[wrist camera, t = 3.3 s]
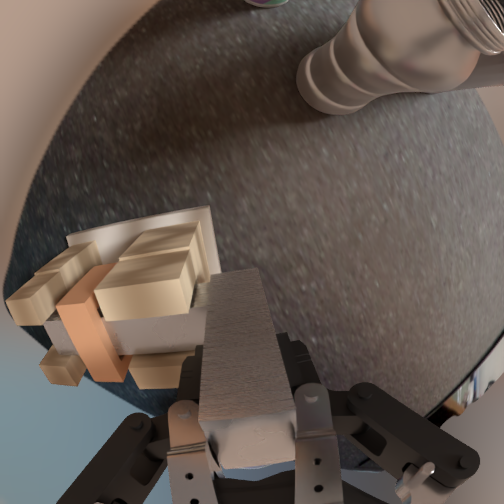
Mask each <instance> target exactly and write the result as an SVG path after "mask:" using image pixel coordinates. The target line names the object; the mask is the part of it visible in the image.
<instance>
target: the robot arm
mask: <svg viewBox="0 0 504 504" xmlns="http://www.w3.org/2000/svg"><path fill="white" fill-rule="evenodd" d="M491 86H504V51H502V52H501V53H500V54H496V55H485V54H483V53H480V56H479V59H478V61H477V64H476V66H475V68H474V69H473V71H472V73H471V74H470V76H469V77H468V78H467V79H466V80H465V81H464V82H463V83H461V84H460V85H458V86H457V87H455V88H453V89H451V90H448V91H455V90H463V89H471V88H479V87H491ZM448 91H437V92H425V93H430V94H434V93H441V92H448ZM276 337H277V341H278V345H279V348H280V352H281V356H282V359H283V363H284V367H285V370H286V374H287V378H288V381H289V385H290V389H291V392H292V396H293V400H294V403H295V407H296V422H295V470H290V471H284V472H281V473H278V474H276V475H273V476H270V477H268V478H265V479H262V480H259V481H247V480H238V479H231V478H225V476H224V474H223V471H222V468H221V464H220V461H219V459H218V457H217V455H216V454H215V452H214V450H213V448H212V446H211V445H210V443H209V441H208V439H207V437H206V435H205V434H204V432H203V430H202V428H201V426H200V424H199V422H198V416H199V399H200V384H201V371H202V358H203V346H204V344H203V345H196V348H195V356H187V357H186V359H185V360H184V362H183V363H182V367H181V373H180V380H179V386H178V393H177V400H176V403H174V404H173V405H172V406H171V407H170V408H169V410H168V413H166V414H164V415H161V416H157V417H153V418H149V417H148V415H146V414H144V413H133V414H130V415H129V416H127V417H126V418H125V419H124V421H123V422H122V423H121V424H120V426H119V427H118V428H117V429H116V430H115V432H114V433H113V434H112V435H111V437H110V438H109V439H108V440H107V442H106V443H105V444H104V445H103V446H102V448H101V449H100V450H99V451H98V453H97V454H96V455H95V456H94V457H93V459H92V460H91V461H90V462H89V464H88V465H87V466H86V467H85V469H84V470H83V471H82V472H81V473H80V475H79V476H78V477H77V478H76V479H75V481H74V482H73V483H72V485H71V486H70V487H69V488H68V489H67V491H66V492H65V493H64V494H63V495H62V497H61V498H60V499H59V500H58V502H57V503H56V504H143V502H144V500H145V499H146V498H147V496H148V495H149V493H150V492H151V490H152V489H153V487H154V486H155V484H156V483H157V481H158V480H159V478H160V476H161V475H162V473H163V472H164V470H165V469H166V467H167V466H168V472H169V480H170V487H171V494H172V501H173V504H388V503H386V502H384V501H382V500H380V499H377V498H375V497H373V496H371V495H369V494H367V493H365V492H363V491H362V490H360V489H358V488H356V487H354V486H352V485H350V484H348V483H347V482H345V481H343V480H341V470H340V460H339V451H338V443H337V436H336V435H344V436H345V437H346V438H347V439H348V440H349V441H351V442H352V443H353V444H354V445H355V446H356V447H358V448H359V449H360V450H361V451H362V452H364V453H365V454H366V455H367V456H368V457H370V458H371V459H372V460H373V461H374V462H376V463H377V464H378V465H379V466H381V467H382V468H383V469H384V470H386V471H387V472H388V473H390V474H391V475H392V476H393V477H395V478H396V479H397V482H396V485H395V491H396V493H397V495H398V496H399V497H400V499H401V500H402V504H443V503H444V502H445V501H446V500H447V499H448V497H449V496H450V495H451V494H452V492H453V491H454V490H455V489H456V488H458V487H459V486H460V485H462V484H463V483H464V482H465V481H466V480H468V479H469V478H470V477H471V476H472V475H474V474H475V472H476V471H477V470H478V468H479V465H480V457H479V455H478V453H477V452H476V451H475V450H474V449H472V448H470V447H469V446H467V445H466V444H464V443H462V442H461V441H459V440H458V439H456V438H454V437H453V436H451V435H450V434H448V433H446V432H445V431H443V430H442V429H440V428H439V427H437V426H435V425H434V424H432V423H431V422H429V421H428V420H426V419H425V418H423V417H422V416H420V415H419V414H417V413H416V412H414V411H413V410H411V409H410V408H408V407H407V406H405V405H404V404H402V403H401V402H399V401H398V400H396V399H395V398H393V397H392V396H390V395H389V394H387V393H386V392H384V391H383V390H382V389H380V388H379V387H377V386H376V385H374V384H372V383H367V382H363V383H358V384H356V385H354V386H353V387H352V388H351V389H350V390H349V391H332V390H329V389H327V388H325V387H324V386H323V385H322V384H321V382H320V380H319V377H318V375H317V372H316V370H315V367H314V365H313V362H312V361H311V357H310V355H309V352H308V350H307V347H306V345H304V344H303V343H302V342H301V341H300V340H297V341H292V342H290V339H289V336H288V333H287V332H285V333H280V334H276Z"/></svg>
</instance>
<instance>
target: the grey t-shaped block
mask: <svg viewBox="0 0 504 504" xmlns="http://www.w3.org/2000/svg"><path fill="white" fill-rule="evenodd" d="M97 310H98V313H99V315H100V318H101V320H102V322H103V325H104V327H105V329H106V331H107V333H108V336H109V338H110V340H111V342H112V344H113V346H114V348H115V350H116V352H117V354H118V355H134V354H152V353H166V352H178V351H189V350H195V348H196V345H203V344H204V346H203V358H202V371H201V384H200V399H199V416H198V422H199V424H200V426H201V428H202V430H203V432H204V434H205V435H206V437H207V439H208V441H209V443H210V445H211V446H212V448H213V450H214V452H215V454H216V455H217V457H218V459H219V461H220V462H221V464H222V465H223V467H224V469H232V468H244V467H253V466H261V465H268V464H274V463H281V462H286V461H292V460H295V422H296V407H295V403H294V400H293V396H292V392H291V389H290V385H289V381H288V378H287V374H286V370H285V367H284V363H283V359H282V356H281V352H280V348H279V345H278V341H277V337H276V334H275V330H274V327H273V323H272V319H271V316H270V312H269V308H268V305H267V301H266V297H265V294H264V290H263V286H262V283H261V279H260V275H259V272H258V268H251V269H245V270H239V271H232V272H225V273H219V274H212V275H211V276H210V282H207V283H200V284H195V285H194V290H193V294H192V299H191V304H190V309H189V313H186V314H177V315H169V316H160V317H150V318H140V319H130V320H118V321H106V320H105V318H104V315H103V313H102V311H101V308H100V306H99V307H98V309H97ZM43 325H44V327H45V329H46V331H47V333H48V335H49V337H50V339H51V341H52V343H53V345H54V346H55V348H56V350H57V352H58V354H59V355H79V353H78V351H77V350H76V348H75V346H74V344H73V342H72V340H71V338H70V336H69V334H68V332H67V330H66V328H65V326H64V324H63V322H62V320H61V317H60V315H59V313H58V311H57V308H56V309H55V311H54V312H53V313H52V314H51V315H50V316H49V317H48V319H47V320H46V321H45V322H44V323H43Z"/></svg>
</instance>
